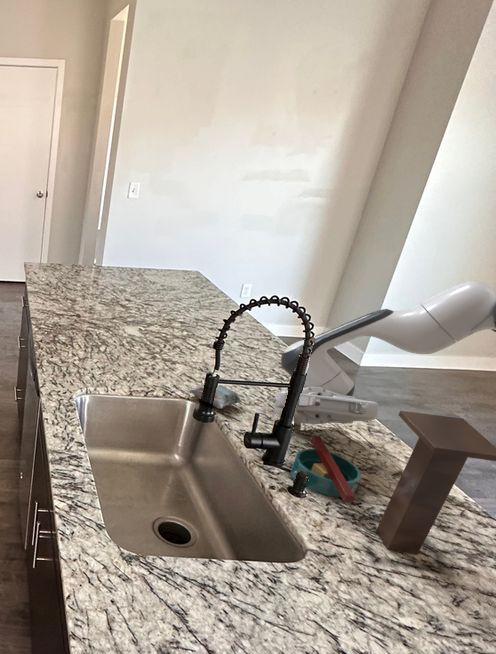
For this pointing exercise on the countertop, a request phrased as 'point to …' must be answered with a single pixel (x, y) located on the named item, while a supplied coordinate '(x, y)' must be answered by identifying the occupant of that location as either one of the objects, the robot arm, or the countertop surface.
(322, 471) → the block
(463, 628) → the countertop surface
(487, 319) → the robot arm
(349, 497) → the red square bar
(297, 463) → the bowl
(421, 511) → the brown pedestal stand
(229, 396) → the packaged food
